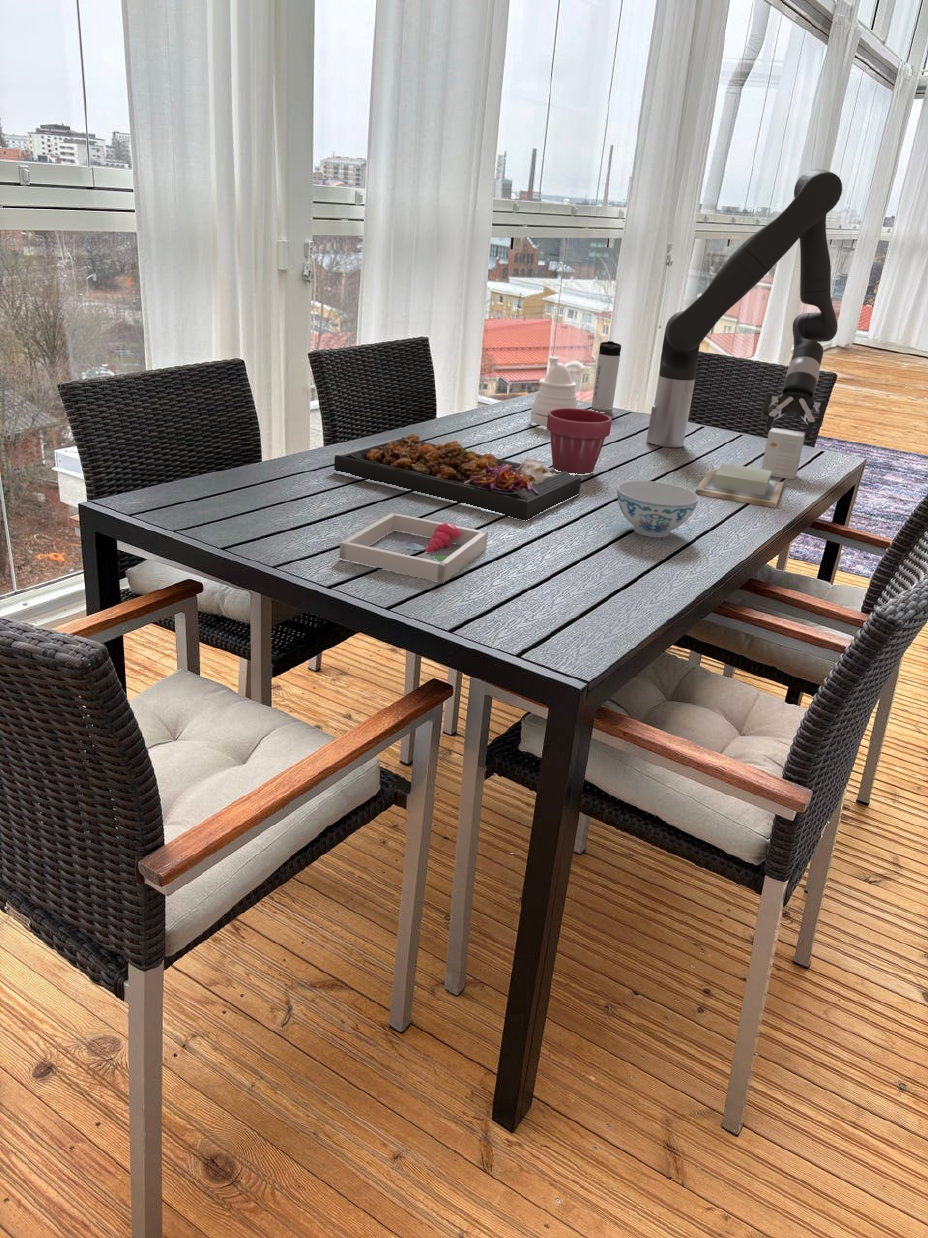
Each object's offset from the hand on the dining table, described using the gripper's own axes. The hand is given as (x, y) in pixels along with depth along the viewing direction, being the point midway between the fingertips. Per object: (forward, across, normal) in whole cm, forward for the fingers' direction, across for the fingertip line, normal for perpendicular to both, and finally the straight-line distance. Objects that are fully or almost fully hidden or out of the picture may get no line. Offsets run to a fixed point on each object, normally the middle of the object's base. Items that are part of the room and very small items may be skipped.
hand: (787, 435), depth 227 cm
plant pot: (+29, -43, -16) cm, 55 cm away
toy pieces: (+78, -49, -64) cm, 113 cm away
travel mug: (-23, -55, +36) cm, 70 cm away
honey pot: (-2, -61, +15) cm, 63 cm away
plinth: (+23, -7, -10) cm, 26 cm away
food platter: (+49, -61, -35) cm, 85 cm away
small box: (+8, 0, +5) cm, 10 cm away
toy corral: (+79, -50, -66) cm, 115 cm away
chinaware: (+53, -18, -40) cm, 69 cm away
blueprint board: (+23, -7, -10) cm, 26 cm away
